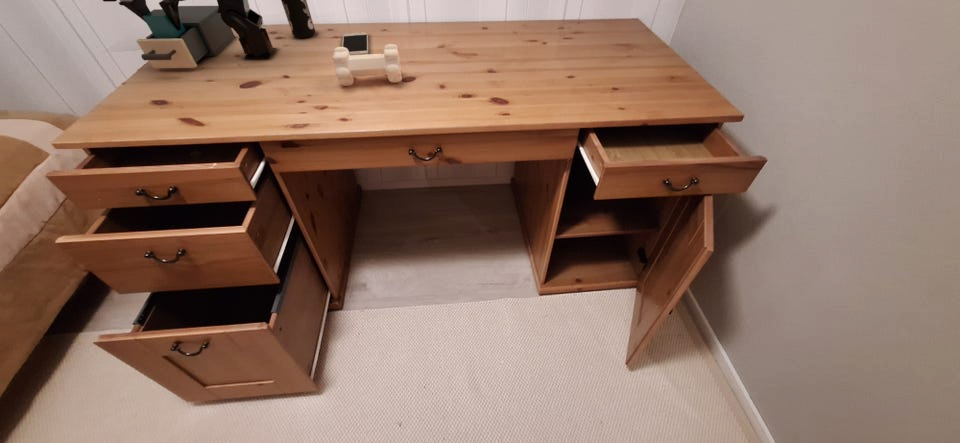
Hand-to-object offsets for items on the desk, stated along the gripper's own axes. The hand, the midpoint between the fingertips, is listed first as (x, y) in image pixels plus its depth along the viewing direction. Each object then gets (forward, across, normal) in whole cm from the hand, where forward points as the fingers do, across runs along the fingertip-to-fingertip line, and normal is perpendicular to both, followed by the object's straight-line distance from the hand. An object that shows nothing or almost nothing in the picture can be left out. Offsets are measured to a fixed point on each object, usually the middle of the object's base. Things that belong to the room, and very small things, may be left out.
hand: (168, 29), depth 95 cm
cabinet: (+8, 0, -10) cm, 13 cm away
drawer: (+7, 0, +1) cm, 7 cm away
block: (+1, 0, 0) cm, 1 cm away
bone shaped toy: (+8, -51, +12) cm, 53 cm away
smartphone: (+8, -43, -10) cm, 45 cm away
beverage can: (+8, -26, -18) cm, 33 cm away
